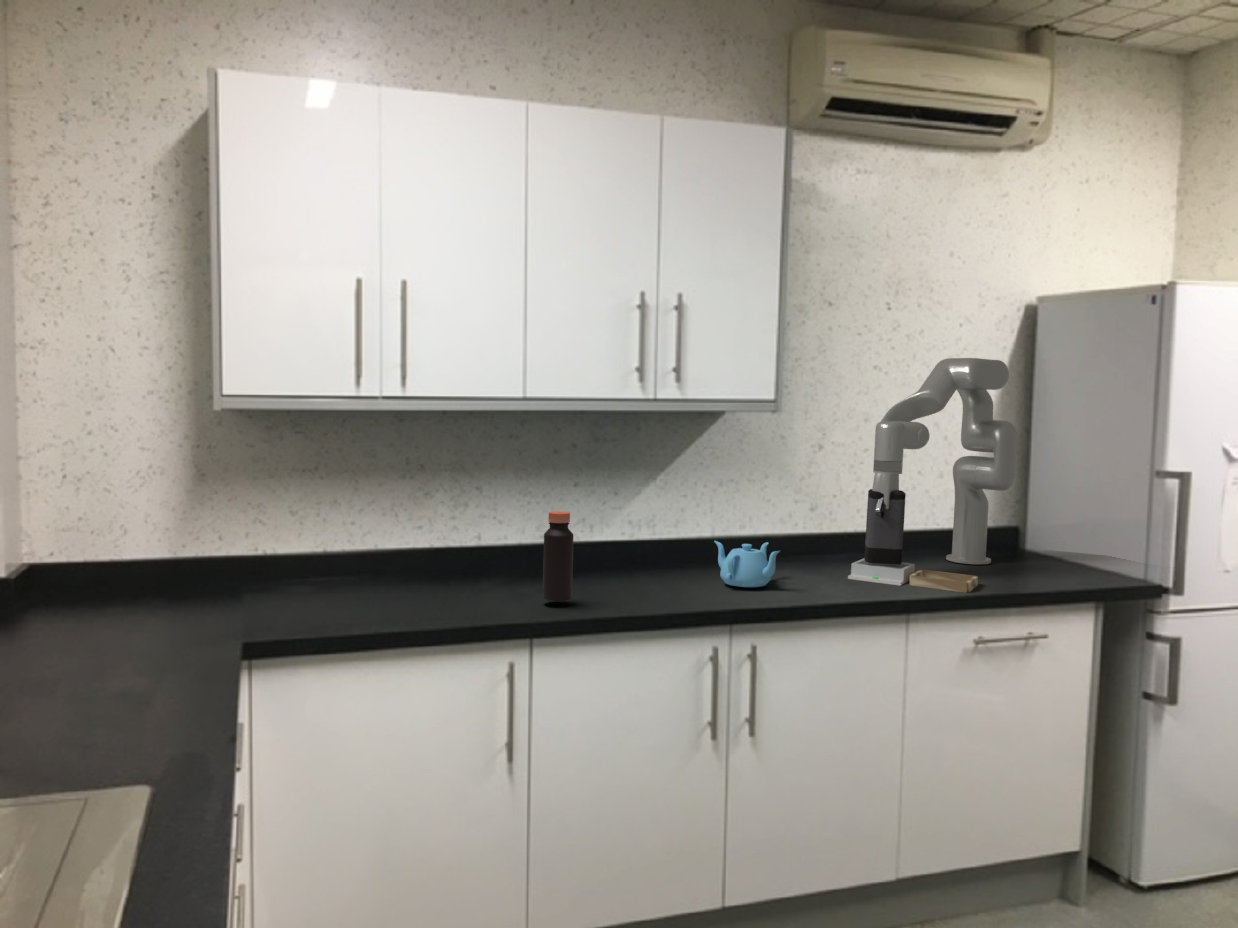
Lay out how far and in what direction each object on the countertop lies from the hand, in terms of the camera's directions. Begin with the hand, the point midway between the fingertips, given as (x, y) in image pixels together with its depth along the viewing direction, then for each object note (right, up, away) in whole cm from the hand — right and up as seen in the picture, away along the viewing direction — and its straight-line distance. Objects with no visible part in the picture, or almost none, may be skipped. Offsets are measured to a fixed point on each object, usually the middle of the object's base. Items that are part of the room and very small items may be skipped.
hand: (884, 534), depth 250 cm
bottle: (-86, -12, -36) cm, 94 cm away
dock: (0, -12, +1) cm, 12 cm away
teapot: (-39, -12, -11) cm, 42 cm away
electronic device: (-1, -8, 0) cm, 8 cm away
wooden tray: (+13, -13, -8) cm, 20 cm away
